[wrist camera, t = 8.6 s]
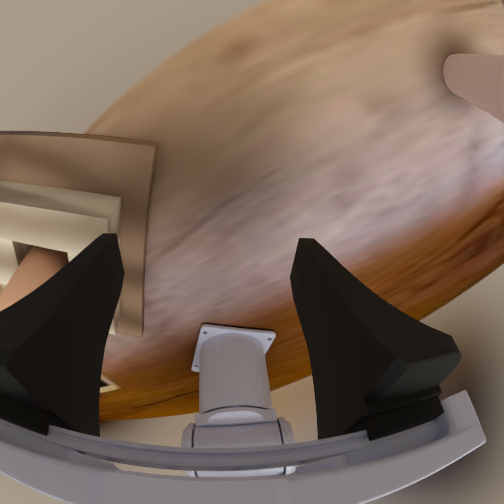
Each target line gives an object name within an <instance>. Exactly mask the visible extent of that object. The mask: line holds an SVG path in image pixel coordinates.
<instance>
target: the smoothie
mask: <svg viewBox="0 0 504 504" xmlns="http://www.w3.org/2000/svg"><path fill="white" fill-rule="evenodd" d="M443 77H444V81H445V84H446V86H447V87H448V89H449V90H450V91H451V92H452V93H454V94H455V95H457V96H459V97H461V98H463V99H465V100H467V101H468V102H470V103H472V104H474V105H476V106H477V107H479V108H481V109H482V110H484V111H486V112H487V113H489V114H491V115H492V116H494V117H495V118H497V119H499V120H500V121H502V122H503V123H504V55H493V54H451V55H449V56H448V57H447V58H446V60H445V62H444V65H443Z"/></svg>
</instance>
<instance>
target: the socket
mask: <svg viewBox="0 0 504 504" xmlns="http://www.w3.org/2000/svg"><path fill="white" fill-rule="evenodd" d="M157 146H158V143H155V142H148V141H141V140H133V139H126V138H117V137H108V136H98V135H88V134H75V133H60V132H40V131H0V284H1V287H2V289H3V290H4V289H5V287H6V285H7V284H8V282H9V280H10V279H11V277H12V276H13V274H14V273H15V271H16V270H17V268H18V267H19V265H20V264H21V262H22V261H23V259H24V258H25V256H26V255H27V253H28V252H29V251H30V249H31V248H32V246H33V245H34V246H39V247H43V248H48V249H53V250H58V251H63V252H67V253H68V260H69V262H70V261H71V260H72V259H73V258H74V257H75V256H77V255H78V254H79V253H80V252H81V251H82V250H83V249H85V248H86V247H87V246H88V245H89V244H90V243H91V242H93V241H94V240H95V239H96V238H97V237H99V236H100V235H101V234H103V233H117V238H118V243H119V249H120V253H121V258H122V263H123V267H124V272H125V275H124V280H123V286H122V290H121V295H120V298H119V301H118V304H117V308H116V311H115V314H114V317H113V320H112V324H111V327H110V330H109V333H108V334H113V335H116V333H119V334H124V335H130V336H135V337H141V338H142V336H143V331H144V325H143V315H144V273H145V254H146V239H147V227H148V216H149V206H150V197H151V188H152V180H153V173H154V166H155V159H156V152H157Z"/></svg>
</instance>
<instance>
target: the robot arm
mask: <svg viewBox="0 0 504 504" xmlns="http://www.w3.org/2000/svg"><path fill="white" fill-rule="evenodd" d="M124 275H125V272H124V267H123V263H122V258H121V253H120V249H119V243H118V238H117V233H103V234H101V235H100V236H99V237H97V238H96V239H95V240H94V241H93V242H91V243H90V244H89V245H88V246H87V247H86V248H85V249H83V250H82V251H81V252H80V253H79V254H78V255H77V256H75V257H74V258H73V259H72V260H71V261H70V262H69V263H67V264H66V265H65V266H64V267H63V268H62V269H60V270H59V271H58V272H57V273H56V274H55V275H53V276H52V277H51V278H50V279H48V280H47V281H46V282H45V283H43V284H42V285H40V286H39V287H38V288H36V289H35V290H34V291H32V292H31V293H29V294H28V295H26V296H25V297H23V298H22V299H20V300H18V301H17V302H15V303H14V304H12V305H11V306H9V307H7V308H5V309H4V310H2V311H0V473H2V474H4V475H5V476H7V477H9V478H11V479H13V480H15V481H17V482H19V483H21V484H23V485H25V486H27V487H29V488H31V489H33V490H36V491H38V492H40V493H42V494H45V495H47V496H50V497H52V498H54V499H57V500H60V501H62V502H65V503H68V504H364V503H367V502H370V501H372V500H375V499H378V498H380V497H383V496H385V495H388V494H391V493H393V492H395V491H398V490H400V489H402V488H404V487H407V486H409V485H411V484H413V483H415V482H417V481H420V480H422V479H424V478H425V477H428V476H430V475H431V474H433V473H435V472H437V471H439V470H441V469H443V468H444V467H446V466H448V465H450V464H451V463H453V462H455V461H456V460H458V459H460V458H461V457H463V456H465V455H466V454H468V453H469V452H471V451H473V450H474V449H476V448H477V447H479V446H481V445H482V444H484V443H485V442H486V438H485V435H484V433H483V430H482V427H481V425H480V422H479V420H478V417H477V415H476V412H475V410H474V407H473V405H472V403H471V400H470V398H469V396H468V393H467V391H462V392H460V393H457V394H455V395H453V396H450V397H448V398H446V399H444V400H442V401H441V402H440V400H439V397H438V395H440V394H441V388H440V386H439V384H440V383H441V382H442V381H443V380H444V379H445V378H446V377H447V376H448V375H449V374H450V373H451V372H452V371H453V370H454V369H455V368H456V367H457V365H458V364H459V362H460V359H461V353H460V351H459V349H458V347H457V346H456V344H455V342H454V340H453V338H452V336H450V335H448V334H445V333H443V332H441V331H439V330H436V329H434V328H432V327H429V326H427V325H425V324H423V323H421V322H419V321H418V320H416V319H414V318H412V317H410V316H408V315H407V314H405V313H403V312H402V311H400V310H399V309H397V308H395V307H394V306H392V305H391V304H389V303H388V302H386V301H385V300H383V299H382V298H381V297H379V296H378V295H377V294H375V293H374V292H372V291H371V290H370V289H369V288H367V287H366V286H365V285H364V284H363V283H361V282H360V281H359V280H358V279H357V278H356V277H354V276H353V275H352V274H351V273H350V272H349V271H348V270H347V269H346V268H344V267H343V266H342V265H341V264H340V263H339V262H338V261H337V260H336V259H335V258H334V257H333V256H332V255H331V254H330V253H329V252H328V251H327V250H326V249H325V248H324V247H323V246H321V245H320V244H319V243H318V242H317V241H316V240H315V239H311V238H299V241H298V246H297V250H296V254H295V258H294V263H293V267H292V271H291V275H290V280H291V287H292V293H293V299H294V303H295V306H296V309H297V313H298V316H299V320H300V323H301V326H302V330H303V333H304V336H305V340H306V343H307V347H308V351H309V357H310V363H311V369H312V376H313V383H314V391H315V401H316V412H317V430H318V440H314V441H307V442H300V443H295V440H294V435H293V430H292V427H291V424H290V423H289V422H288V421H287V420H285V419H284V418H283V417H281V418H277V416H276V410H275V409H273V408H272V401H271V394H270V387H269V380H268V374H267V367H266V360H265V354H266V352H267V351H268V349H269V347H270V345H271V344H272V342H273V340H274V338H275V337H276V334H275V332H274V331H265V330H254V329H244V328H235V327H226V326H217V325H209V324H203V325H202V326H201V329H200V333H199V337H198V341H197V346H196V350H195V354H194V359H193V363H192V371H195V372H199V414H196V415H195V423H190V424H188V426H187V427H186V428H185V429H184V431H183V434H182V443H181V447H169V446H158V445H149V444H140V443H132V442H125V441H118V440H112V439H107V438H102V437H100V430H99V396H100V381H101V371H102V363H103V356H104V349H105V345H106V341H107V337H108V333H109V330H110V327H111V324H112V320H113V317H114V314H115V311H116V308H117V304H118V301H119V298H120V295H121V290H122V286H123V280H124ZM99 459H101V460H99ZM103 460H106V461H111V462H117V463H122V464H128V465H135V466H142V467H151V468H159V469H171V470H184V471H185V474H186V476H171V475H157V474H149V473H140V472H133V471H125V470H120V469H119V468H117V467H116V466H115V465H114V464H113V463H109V462H106V461H103ZM303 464H304V465H303ZM297 465H300V466H297Z"/></svg>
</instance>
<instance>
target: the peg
mask: <svg viewBox="0 0 504 504" xmlns="http://www.w3.org/2000/svg"><path fill="white" fill-rule="evenodd" d="M67 263H69V260H68V253H67V252H63V251H58V250H53V249H48V248H43V247H39V246H34V245H33V246H32V248H31V249H30V251H29V252H28V253H27V255H26V256H25V258H24V259H23V261H22V262H21V264H20V265H19V267H18V268H17V270H16V271H15V273H14V274H13V276H12V277H11V279H10V280H9V282H8V284H7V285H6V287H5V289H4V290H3V292H2V294H1V295H0V311H2V310H4V309H5V308H7V307H9V306H11V305H12V304H14V303H15V302H17V301H18V300H20V299H22V298H23V297H25V296H26V295H28V294H29V293H31V292H32V291H34V290H35V289H36V288H38V287H39V286H40V285H42V284H43V283H45V282H46V281H47V280H48V279H50V278H51V277H52V276H53V275H55V274H56V273H57V272H58V271H59V270H60V269H62V268H63V267H64V266H65V265H66V264H67Z"/></svg>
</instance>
